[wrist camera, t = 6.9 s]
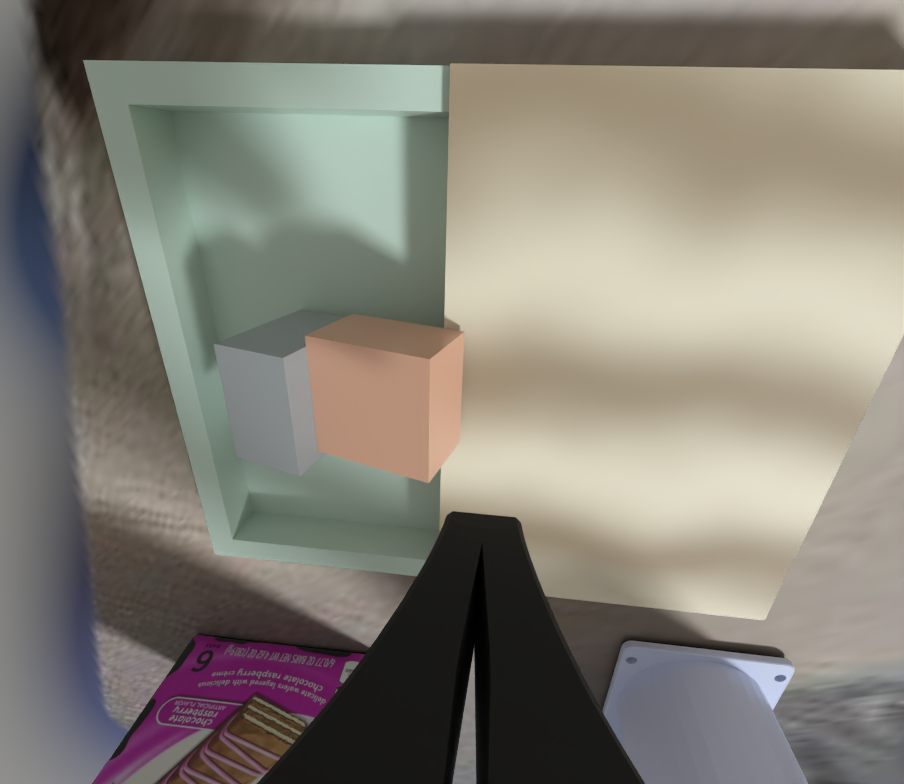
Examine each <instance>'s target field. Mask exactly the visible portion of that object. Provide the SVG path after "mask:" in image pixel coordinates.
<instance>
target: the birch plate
mask: <svg viewBox="0 0 904 784" xmlns="http://www.w3.org/2000/svg"><path fill="white" fill-rule="evenodd" d="M444 328H445V329H451V330H458V331H464V354H463V376H462V399H461V422H460V443H459V444H458V445H457V446H456V448H455V449H454V450H453V452H452V453H451V454H450V456H449V457H448V458H447V460H446V461H445V462H444V464H443V465H442V466H441V483H440V527H439V534H440V531H441V529H442V527H443V524H444V521H445V518H446V516H447V515H448V514H449V513H451V512H452V511H456V512H467V513H477V514H487V515H498V516H508V517H516V518H517V519H518V520H519V521H520V522H521V525H522V530H523V534H524V538H525V541H526V545H527V548H528V551H529V554H530V557H531V560H532V563H533V566H534V568H535V571H536V574H537V577H538V579H539V582H540V584H541V587H542V589H543V592H544V594H545V596H547V597H556V598H565V599H574V600H583V601H592V602H601V603H610V604H620V605H629V606H638V607H647V608H656V609H665V610H674V611H683V612H692V613H701V614H710V615H720V616H729V617H738V618H747V619H756V620H765V619H766V617H767V614H768V612H769V610H770V608H771V606H772V604H773V602H774V600H775V598H776V596H777V594H778V592H779V590H780V588H781V586H782V584H783V582H784V580H785V577H786V575H787V573H788V571H789V569H790V567H791V565H792V563H793V561H794V559H795V557H796V555H797V553H798V551H799V549H800V547H801V545H802V543H803V540H804V538H805V536H806V534H807V532H808V530H809V528H810V526H811V524H812V522H813V520H814V518H815V516H816V514H817V512H818V510H819V508H820V506H821V503H822V501H823V499H824V497H825V495H826V493H827V491H828V489H829V487H830V485H831V483H832V481H833V479H834V477H835V475H836V473H837V471H838V468H839V466H840V464H841V462H842V460H843V458H844V456H845V454H846V452H847V450H848V448H849V446H850V444H851V442H852V440H853V438H854V436H855V434H856V431H857V429H858V427H859V425H860V423H861V421H862V419H863V417H864V415H865V413H866V411H867V409H868V407H869V405H870V403H871V401H872V399H873V397H874V394H875V392H876V390H877V388H878V386H879V384H880V382H881V380H882V378H883V376H884V374H885V372H886V370H887V368H888V366H889V364H890V362H891V360H892V357H893V355H894V353H895V351H896V349H897V347H898V345H899V343H900V341H901V339H902V337H903V335H904V70H875V69H807V68H739V67H671V66H603V65H535V64H467V63H450V92H449V136H448V179H447V222H446V266H445V309H444Z"/></svg>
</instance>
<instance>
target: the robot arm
mask: <svg viewBox="0 0 904 784" xmlns="http://www.w3.org/2000/svg"><path fill="white" fill-rule="evenodd" d="M473 649H474V652H475V718H476V780H477V783H476V784H808V782H807V780H806V778H805V776H804V774H803V772H802V770H801V768H800V766H799V764H798V762H797V760H796V758H795V756H794V754H793V752H792V750H791V747H790V745H789V743H788V741H787V739H786V737H785V735H784V733H783V731H782V729H781V727H780V725H779V723H778V721H777V719H776V717H775V715H774V713H773V709H774V707H775V705H776V703H777V702H778V700H779V698H780V696H781V695H782V693H783V691H784V689H785V688H786V686H787V684H788V682H789V681H790V679H791V677H792V675H793V674H794V671H795V669H794V667H793V665H792V663H791V661H789V660H788V659H785V658H779V657H771V656H762V655H753V654H745V653H736V652H728V651H719V650H710V649H702V648H693V647H685V646H676V645H667V644H659V643H650V642H641V641H626V642H625V643H623V645H622V646H621V650H620V653H619V656H618V660H617V663H616V667H615V670H614V673H613V677H612V680H611V683H610V687H609V690H608V694H607V697H606V700H605V704H604V707H603V711H602V710H601V708H600V707H599V705H598V703H597V701H596V699H595V697H594V696H593V694H592V692H591V690H590V688H589V686H588V684H587V683H586V681H585V679H584V677H583V675H582V673H581V671H580V669H579V667H578V665H577V663H576V661H575V659H574V657H573V655H572V653H571V651H570V649H569V647H568V645H567V643H566V641H565V639H564V637H563V635H562V632H561V630H560V628H559V626H558V624H557V622H556V619H555V617H554V615H553V612H552V610H551V608H550V605H549V603H548V601H547V599H546V596H545V594H544V592H543V589H542V587H541V584H540V582H539V579H538V577H537V574H536V571H535V568H534V566H533V563H532V560H531V557H530V554H529V551H528V548H527V545H526V541H525V538H524V534H523V530H522V525H521V522H520V521H519V520H518V519H517V518H516V517H508V516H498V515H487V514H477V513H467V512H456V511H452V512H451V513H449V514H448V515H447V516H446V518H445V521H444V524H443V527H442V529H441V531H440V534H439V536H438V538H437V540H436V542H435V544H434V546H433V548H432V550H431V552H430V554H429V556H428V558H427V560H426V561H425V563H424V565H423V567H422V569H421V570H420V572H419V574H418V575H417V577H416V579H415V580H414V582H413V584H412V585H411V587H410V589H409V590H408V592H407V594H406V595H405V597H404V599H403V600H402V602H401V603H400V605H399V606H398V608H397V609H396V611H395V612H394V614H393V615H392V617H391V618H390V620H389V621H388V623H387V624H386V626H385V627H384V628H383V630H382V631H381V633H380V634H379V636H378V637H377V639H376V640H375V642H374V643H373V644H372V646H371V647H370V649H369V650H368V651H367V653H366V654H365V655H364V657H363V658H362V659H361V661H360V662H359V664H358V665H357V666H356V667H355V669H354V670H353V671H352V673H351V674H350V675H349V677H348V678H347V679H346V680H345V682H344V683H343V684H342V685H341V687H340V688H339V689H338V690H337V692H336V693H335V694H334V695H333V697H332V698H331V699H330V700H329V702H328V703H327V704H326V705H325V707H324V708H323V709H322V710H321V711H320V712H319V714H318V715H317V716H316V717H315V718H314V719H313V721H312V722H311V723H310V724H309V725H308V726H307V728H306V729H305V730H304V731H303V732H302V733H301V735H300V736H299V737H298V738H297V739H296V740H295V742H294V743H293V744H292V745H291V746H290V747H289V749H288V750H287V751H286V752H285V753H284V754H283V755H282V756H281V758H280V759H279V760H278V761H277V762H276V763H275V764H274V765H273V766H272V768H271V769H270V770H269V771H268V772H267V773H266V774H265V775H264V776H263V777H262V778H261V780H260V781H259V782H258V783H257V784H452V782H453V775H454V769H455V762H456V756H457V750H458V744H459V737H460V731H461V725H462V719H463V712H464V706H465V700H466V693H467V687H468V681H469V675H470V668H471V662H472V656H473Z"/></svg>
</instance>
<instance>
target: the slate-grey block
mask: <svg viewBox="0 0 904 784" xmlns="http://www.w3.org/2000/svg"><path fill="white" fill-rule="evenodd" d="M344 317H345V316H339V315H333V314H327V313H320V312H314V311H308V310H302V309H301V310H299V311H296V312H293V313H291V314H288V315H286V316H283V317H281V318H278V319H275V320H273V321H270V322H268V323H265V324H263V325H260V326H258V327H255V328H252V329H250V330H247V331H245V332H242V333H240V334H237V335H234V336H232V337H229V338H227V339H224V340H222V341H219V342H217V343H214V344H213V345H214V349H215V354H216V359H217V364H218V369H219V373H220V378H221V383H222V388H223V393H224V397H225V402H226V407H227V412H228V417H229V422H230V426H231V431H232V436H233V441H234V446H235V450H236V455H237V458H239V459H243V460H246V461H249V462H253V463H256V464H259V465H262V466H266V467H269V468H272V469H276V470H279V471H282V472H286V473H289V474H292V475H296V476H299V477H300V476H301V475H302V474H303V473H304V472H305V471H307V470H308V469H309V468H310V467H311V466H312V465H314V464H315V463H316V462H317V461H318V460H319V459H321V458H322V457H323V456H324V455H325V453H322V452H318V446H317V437H316V428H315V420H314V411H313V403H312V394H311V386H310V377H309V369H308V360H307V351H306V343H305V335H307V334H309V333H312V332H314V331H316V330H318V329H320V328H322V327H325V326H327V325H329V324H331V323H333V322H336V321H338V320H340V319H342V318H344Z"/></svg>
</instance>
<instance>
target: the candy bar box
mask: <svg viewBox="0 0 904 784" xmlns="http://www.w3.org/2000/svg"><path fill="white" fill-rule="evenodd" d="M364 655H365V654H357V653H347V652H340V651H331V650H322V649H314V648H305V647H296V646H288V645H279V644H270V643H261V642H253V641H245V640H236V639H228V638H220V637H212V636H203V635H195V636H194V637H193V639H192V640H191V642H190V643H189V644H188V646H187V647H186V649H185V650H184V651H183V653H182V654H181V656H180V657H179V659H178V660H177V662H176V663H175V665H174V666H173V667H172V669H171V670H170V672H169V673H168V675H167V676H166V678H165V679H164V681H163V682H162V683H161V685H160V686H159V688H158V689H157V691H156V692H155V694H154V695H153V696H152V698H151V699H150V701H149V702H148V704H147V705H146V707H145V708H144V710H143V711H142V712H141V714H140V715H139V717H138V718H137V720H136V721H135V723H134V724H133V726H132V727H131V729H130V730H129V732H128V733H127V734H126V736H125V737H124V739H123V741H122V742H121V743H120V745H119V746H118V748H117V749H116V751H115V752H114V754H113V755H112V757H111V758H110V759H109V761H108V762H107V763H106V764H105V766H104V767H103V769H102V770H101V772H100V773H99V775H98V776H97V777H96V779H95V780H94V782H93V783H92V784H257V783H258V782H259V781H260V780H261V778H262V777H263V776H264V775H265V774H266V773H267V772H268V771H269V770H270V769H271V768H272V766H273V765H274V764H275V763H276V762H277V761H278V760H279V759H280V758H281V756H282V755H283V754H284V753H285V752H286V751H287V750H288V749H289V747H290V746H291V745H292V744H293V743H294V742H295V740H296V739H297V738H298V737H299V736H300V735H301V733H302V732H303V731H304V730H305V729H306V728H307V726H308V725H309V724H310V723H311V722H312V721H313V719H314V718H315V717H316V716H317V715H318V714H319V712H320V711H321V710H322V709H323V708H324V707H325V705H326V704H327V703H328V702H329V700H330V699H331V698H332V697H333V695H334V694H335V693H336V692H337V690H338V689H339V688H340V687H341V685H342V684H343V683H344V682H345V680H346V679H347V678H348V677H349V675H350V674H351V673H352V671H353V670H354V669H355V667H356V666H357V665H358V664H359V662H360V661H361V659H362V658H363V657H364Z"/></svg>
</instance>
